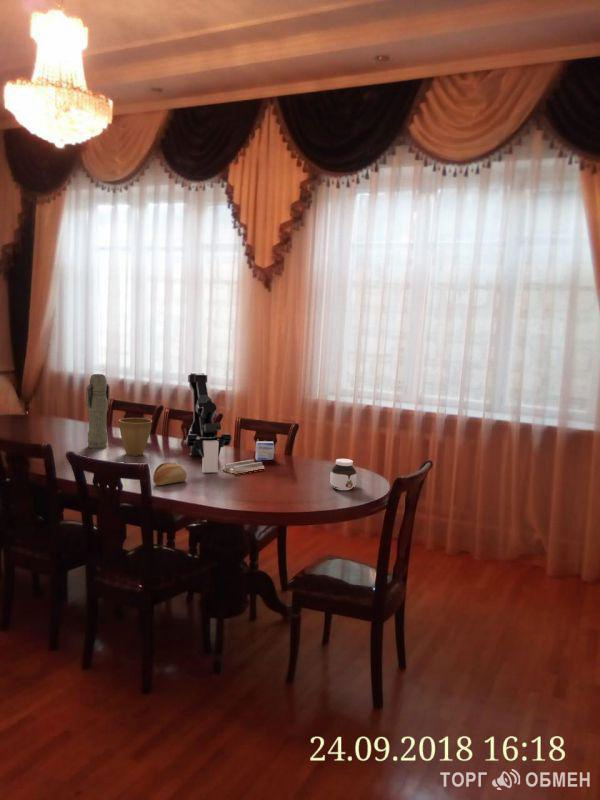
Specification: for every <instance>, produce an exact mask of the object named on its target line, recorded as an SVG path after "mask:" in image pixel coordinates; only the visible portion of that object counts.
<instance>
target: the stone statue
mask: <svg viewBox="0 0 600 800" xmlns="http://www.w3.org/2000/svg"><path fill="white" fill-rule="evenodd" d="M110 387H111V386H110V384H108V383H107V378H106V375H104V374H102V373H101V374H100V373H95V374H94V373H93V374H92V375H91V377H90V378H89V384H88V385H87V386H86V389H85V391H86V392H85V393H86V396H85V397H86V398H85V400H86V401H85V405H86V406H87V411H88V432H87V444H88V445H87V448H88V447H89V449H91V448H94V449H93V450H96V449H97V450H101V448H103V449H106V448H108V445H107V444H108V431H107V412H108V407H109V405H110V390H111V389H110Z"/></svg>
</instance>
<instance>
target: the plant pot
mask: <svg viewBox="0 0 600 800" xmlns="http://www.w3.org/2000/svg"><path fill="white" fill-rule="evenodd" d="M118 424H119V425H118V426H119V431H120V437H121V441H122V445H123V448H124V452H125V454H126V455H127V456H131V455H132V457H133V456H135V457H136V456H138V455H139V456H143V454H144V452H145V450H146V448H147V447H146V446H147V445H148V441H149V438H150V435H151V434H150V433H151V430H152V424H153V420H152V419H149V418H144V417H127V418H126V417H124V418H121V419H118Z"/></svg>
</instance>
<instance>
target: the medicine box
mask: <svg viewBox="0 0 600 800" xmlns="http://www.w3.org/2000/svg"><path fill="white" fill-rule="evenodd" d="M274 455H275V443H274V441H268V440H267V441H265V440H262V441H255V457H254V460H256V461H257V462H262V461H261V460H273V461H274Z"/></svg>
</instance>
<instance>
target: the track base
mask: <svg viewBox="0 0 600 800" xmlns="http://www.w3.org/2000/svg"><path fill="white" fill-rule="evenodd" d="M258 469H264V470H265V466H264V465H263V461H257V462H255V459H248V460H241V461H236V462H229V463H225V464H224V466H222V471H223V470H226V471H228V472H227V473H229V472H232V473H235V474H238V473H243V472H248V471H253V470H258ZM226 471H225V472H226ZM232 473H231V474H232ZM235 474H234V475H235ZM243 474H244V473H243ZM238 475H239V474H238Z"/></svg>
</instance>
